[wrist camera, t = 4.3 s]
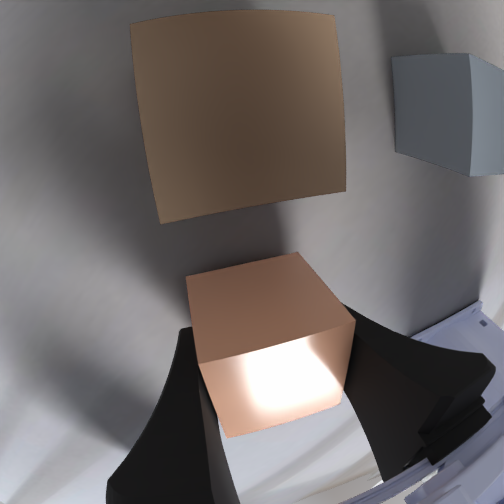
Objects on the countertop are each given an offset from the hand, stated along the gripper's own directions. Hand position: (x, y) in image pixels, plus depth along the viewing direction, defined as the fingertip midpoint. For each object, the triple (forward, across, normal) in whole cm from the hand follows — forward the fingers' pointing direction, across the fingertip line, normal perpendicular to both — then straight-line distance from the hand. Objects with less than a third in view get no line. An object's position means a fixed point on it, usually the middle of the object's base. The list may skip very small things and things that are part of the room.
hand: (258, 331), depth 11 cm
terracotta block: (+1, 0, 0) cm, 1 cm away
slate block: (+2, -10, -8) cm, 13 cm away
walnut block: (+2, 0, -8) cm, 8 cm away
